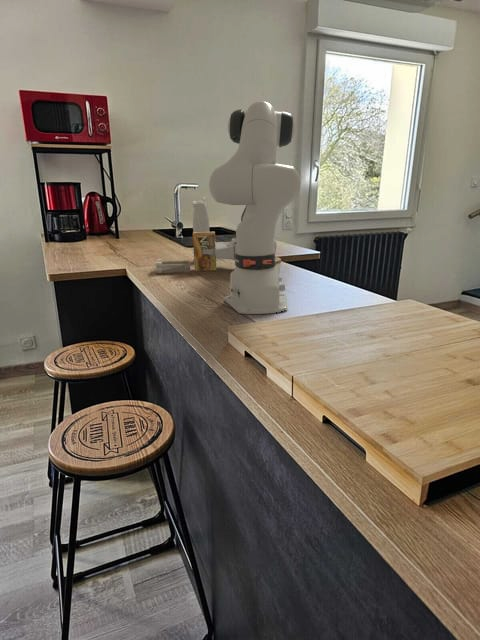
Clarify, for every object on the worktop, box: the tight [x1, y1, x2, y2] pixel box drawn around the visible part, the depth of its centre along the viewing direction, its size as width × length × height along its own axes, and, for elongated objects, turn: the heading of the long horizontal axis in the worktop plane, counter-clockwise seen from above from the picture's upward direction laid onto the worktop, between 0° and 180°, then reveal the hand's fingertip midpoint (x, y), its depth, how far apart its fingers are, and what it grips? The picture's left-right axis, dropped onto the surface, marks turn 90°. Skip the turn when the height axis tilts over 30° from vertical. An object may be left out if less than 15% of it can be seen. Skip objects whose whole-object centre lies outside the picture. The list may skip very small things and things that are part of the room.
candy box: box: [192, 231, 217, 272], centre depth 171 cm, size 9×4×15 cm, turn 92°
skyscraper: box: [191, 196, 210, 261], centre depth 189 cm, size 8×8×28 cm
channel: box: [155, 258, 191, 276], centre depth 171 cm, size 10×13×4 cm
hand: (202, 250), depth 171 cm, fingers closed on candy box, 4 cm apart
